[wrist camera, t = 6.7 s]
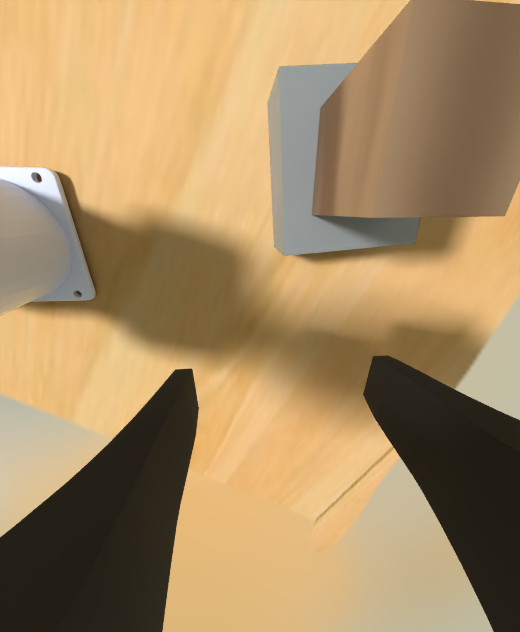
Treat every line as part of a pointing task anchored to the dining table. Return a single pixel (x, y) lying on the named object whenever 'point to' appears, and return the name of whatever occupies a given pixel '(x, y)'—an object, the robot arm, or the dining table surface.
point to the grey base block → (299, 170)
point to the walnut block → (426, 118)
